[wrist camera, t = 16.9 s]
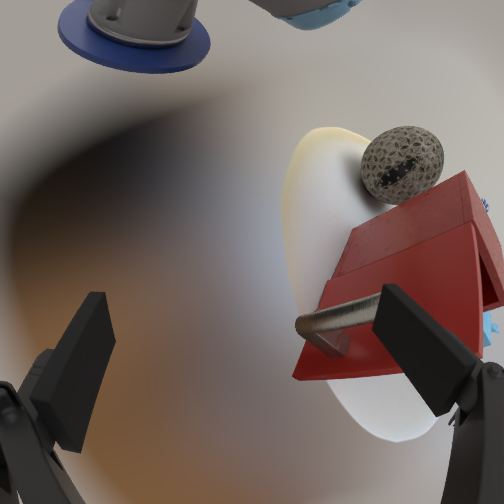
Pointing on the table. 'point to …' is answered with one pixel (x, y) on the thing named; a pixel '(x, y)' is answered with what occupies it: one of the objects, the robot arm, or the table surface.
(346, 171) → the table surface
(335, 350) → the cabinet door
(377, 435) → the table surface
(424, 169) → the decorative egg
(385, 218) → the red cabinet body
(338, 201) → the table surface
